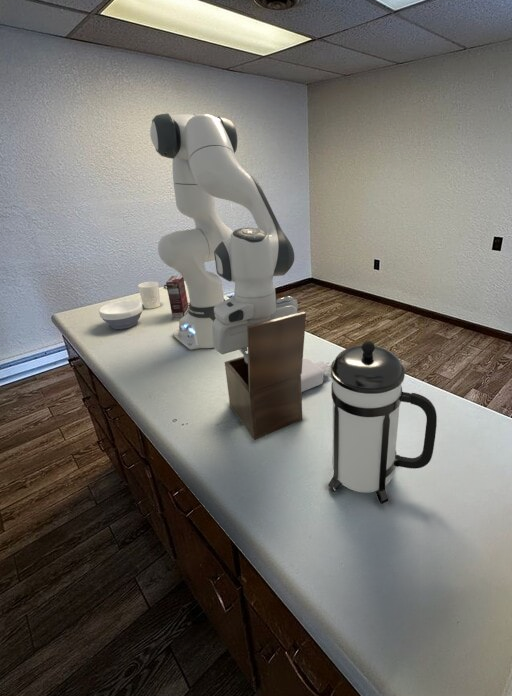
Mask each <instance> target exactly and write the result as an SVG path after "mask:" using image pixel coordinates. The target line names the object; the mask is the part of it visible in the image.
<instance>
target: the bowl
mask: <svg viewBox="0 0 512 696" xmlns="http://www.w3.org/2000/svg"><path fill="white" fill-rule="evenodd" d="M143 309H144V307H143V303H142V301H139V300H135V299H125V300H118V301H113V302H109V303H107V304H104V305H103V306H101V307H100V308H99V309H98V313H99V317H100V318H101V319H102V321H104V322H105V323H106V324H107V325H108V326H110V327H111V328H112V329H116V330H125V329H128V328H132V327H134V326H135V325H137V324H138V322H139V320H140V319H141V316H142V313H143Z"/></svg>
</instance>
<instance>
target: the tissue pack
mask: <svg viewBox="0 0 512 696" xmlns="http://www.w3.org/2000/svg"><path fill="white" fill-rule="evenodd" d="M329 364H330V362H329V361H328V362H324V361H318V362H316V363H315V362H314V361H312V360H311V359H309V358H303V362H302V374H301V393H303V392H306V391H308V390H310V389H313V388H316V387H318V386H320V385H322V384H323V382H324V374H325V373H326V371H327V370H328V369H329V368H330V367H331V364H330V365H329Z"/></svg>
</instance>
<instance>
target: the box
mask: <svg viewBox="0 0 512 696" xmlns="http://www.w3.org/2000/svg"><path fill="white" fill-rule="evenodd" d="M224 367H225V378H226V385H227V393H228V401H229V406H230V407H231V409H232V410H233V412H234V413H235V414H236V416H237V417H238V420H239V421H240V422H241V423H242V425H243V426H244V427H245V429H246V431H247V432H248V434H249V436H251V438H252V439H253V441H257V440H259V439H262V438H265V437H266V436H268V435H270V434H273V433H275V432H277V431H280V430H283V429H284V428H287V427H289V426H291V425H294V424H296V423H298V422H300V421H302V420H303V399H302V398H303V397H302V396H303V395H302V393H303V392H301V374H300V375H297V376H294V377H292V378H289V379H286V380H283V381H280V382H278V383H275V384H272V385H269V386H267V387H264V388H261V389H258V390H255V391H253V392H250V391H249V378H248V364H247V363H246V362H245V360H244V355H243V356H239V357H237V358H233V359H230V360H226V361H224Z"/></svg>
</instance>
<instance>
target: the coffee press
mask: <svg viewBox="0 0 512 696" xmlns="http://www.w3.org/2000/svg"><path fill="white" fill-rule="evenodd" d="M330 365H331V367H329V369H328V370H327V371H326V373H325V374H323V376H325V377H329V378H330V379H331V381H332V382H331V388H330V389H331V391H330V392H331V398H332V470H333V474H332V478H331V479H330V480H329V482H328V485H327V486H328V488H329V489H330V491H331V492H332V493H335V492H337V491H338V490H339V489H340V487H342V485H343V486H344V487H346V488H347V489H349V490H351V491H354V492H358V493H363V494H364V493H366V494H367V493H375V495H376V498H377V500H378V503H379V504H380V505H383V504H385V503H387V502H389V496H388V493H387V489H386V486H387V485H388V484H389V483H390V482H391V480H392V478H393V475H394V471H395V469H396V468H406V469H412V470H413V469H421V468H424V467H425V466H427V465H429V463H430V462H431V460H432V458H433V454H434V449H435V442H436V434H437V426H438V425H437V423H438V415H437V410H436V407H435V405H434V403H433V402H432V401H431V400H430V399H429V398H427V397H425V396H424V395H422V394H419V393H415V392H407V391H403V387H402V384H403V382H404V380H405V377H406V376H405V374H406V371H405V367H404V365H403V363H402V362H401V361H400V359H399V358H398V356H397V355H396V354H394V353H393V352H392V351H390V350H388V349H386V348H384V347H382V346H377V345H375V344H374V342H372V341H371V340H365V341H364V342H363V343H362V344H359V345H353V346H350V347H347V348H345V349H344V350H342V351H341V352H339V353H338V354H337V355H336V357H335V359H334V360H333V361H332V362H331V364H330ZM401 403H409V404H410V405H414V406H417V407H419V408H420V409H421V410H422V411H423V412H424V414H425V417H426V424H425V430H424V439H423V447H422V452H421V453H420V455H418V456H416V457H407V456H401V455H400V454H397V441H398V440H397V439H398V426H399V417H400V415H399V414H400V405H401Z"/></svg>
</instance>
